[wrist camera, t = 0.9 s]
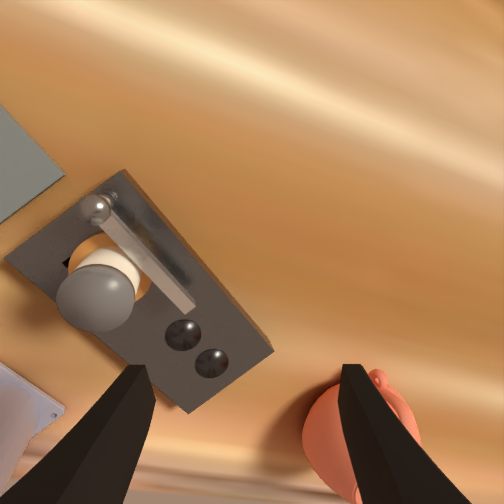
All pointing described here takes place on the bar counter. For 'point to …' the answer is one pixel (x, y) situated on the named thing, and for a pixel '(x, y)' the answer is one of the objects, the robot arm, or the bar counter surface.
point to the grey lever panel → (157, 301)
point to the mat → (22, 167)
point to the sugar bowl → (332, 439)
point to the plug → (100, 285)
